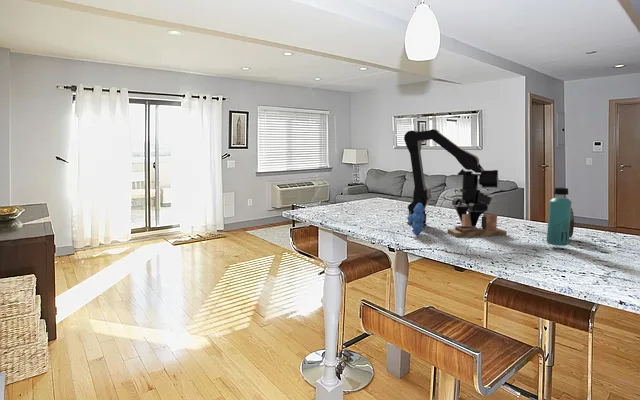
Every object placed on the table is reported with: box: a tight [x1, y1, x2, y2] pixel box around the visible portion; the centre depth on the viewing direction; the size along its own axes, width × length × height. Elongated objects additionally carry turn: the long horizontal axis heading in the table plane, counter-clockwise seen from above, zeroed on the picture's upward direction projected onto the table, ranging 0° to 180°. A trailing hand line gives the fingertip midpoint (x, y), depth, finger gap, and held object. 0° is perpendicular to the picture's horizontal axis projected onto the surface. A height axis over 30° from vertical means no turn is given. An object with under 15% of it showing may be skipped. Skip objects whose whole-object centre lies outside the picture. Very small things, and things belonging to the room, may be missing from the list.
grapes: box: [406, 203, 426, 236], centre depth 157 cm, size 12×7×12 cm, turn 155°
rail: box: [447, 213, 508, 238], centre depth 157 cm, size 20×7×8 cm, turn 97°
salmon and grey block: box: [461, 213, 471, 226], centre depth 166 cm, size 5×3×6 cm, turn 97°
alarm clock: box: [563, 195, 575, 238], centre depth 148 cm, size 11×5×16 cm, turn 158°
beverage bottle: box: [546, 187, 572, 247], centre depth 135 cm, size 6×7×20 cm
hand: (468, 225), depth 166 cm, fingers open, 8 cm apart
